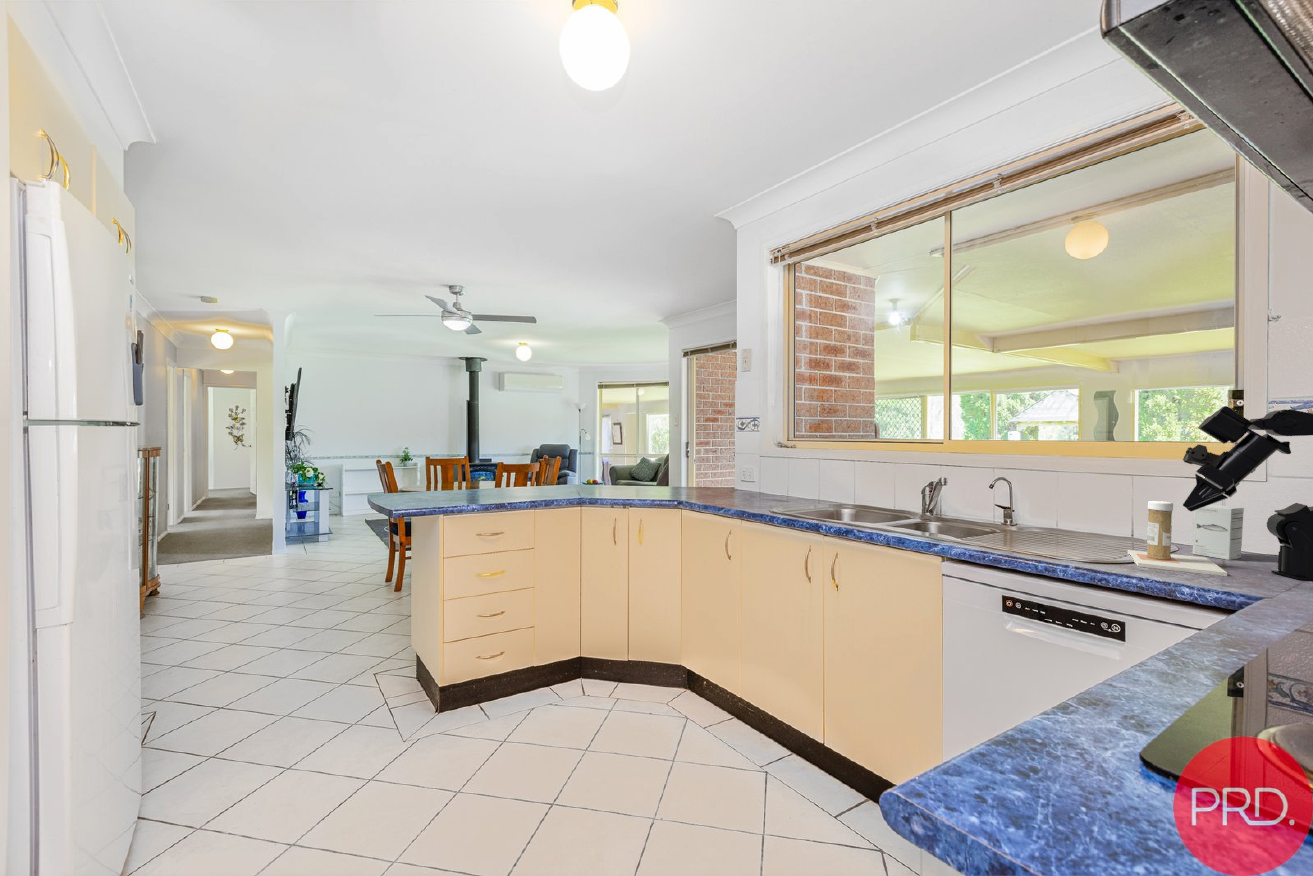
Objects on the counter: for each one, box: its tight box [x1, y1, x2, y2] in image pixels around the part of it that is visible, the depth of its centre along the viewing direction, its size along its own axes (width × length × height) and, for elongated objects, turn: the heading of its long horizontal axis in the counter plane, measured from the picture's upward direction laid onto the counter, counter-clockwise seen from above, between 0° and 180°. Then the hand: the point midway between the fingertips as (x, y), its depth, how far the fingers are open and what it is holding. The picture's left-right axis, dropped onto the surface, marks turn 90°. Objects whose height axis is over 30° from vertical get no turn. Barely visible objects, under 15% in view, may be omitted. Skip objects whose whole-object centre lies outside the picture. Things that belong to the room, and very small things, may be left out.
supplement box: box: [1192, 504, 1245, 561], centre depth 150 cm, size 7×7×13 cm
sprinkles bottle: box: [1146, 500, 1174, 560], centre depth 142 cm, size 5×5×13 cm
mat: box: [1127, 549, 1228, 577], centre depth 141 cm, size 15×18×1 cm
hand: (1186, 508), depth 139 cm, fingers open, 9 cm apart
